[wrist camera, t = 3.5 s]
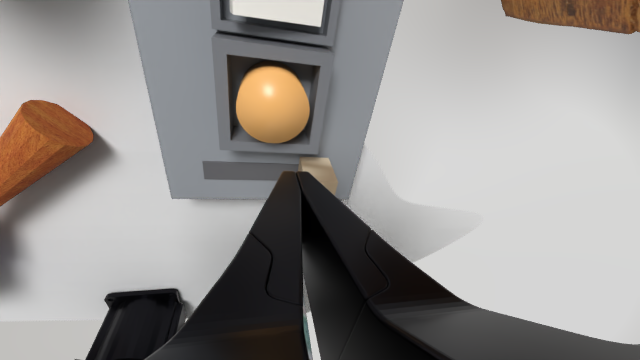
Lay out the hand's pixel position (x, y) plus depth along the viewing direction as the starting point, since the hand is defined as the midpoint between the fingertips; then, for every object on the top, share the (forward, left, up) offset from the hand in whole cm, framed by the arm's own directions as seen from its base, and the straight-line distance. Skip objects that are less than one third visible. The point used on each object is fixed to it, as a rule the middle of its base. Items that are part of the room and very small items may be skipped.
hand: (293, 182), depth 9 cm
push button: (-1, 0, -8) cm, 8 cm away
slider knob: (+3, -5, -8) cm, 10 cm away
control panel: (0, 0, -11) cm, 11 cm away
